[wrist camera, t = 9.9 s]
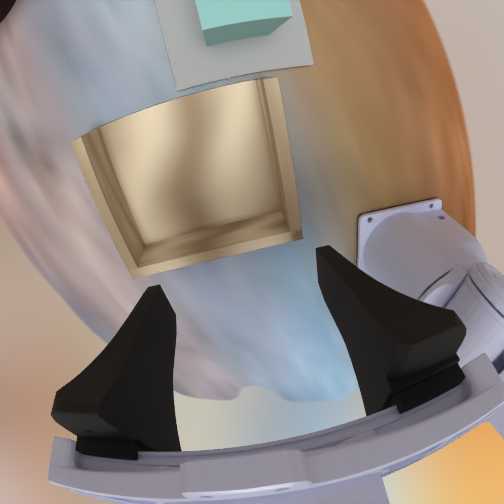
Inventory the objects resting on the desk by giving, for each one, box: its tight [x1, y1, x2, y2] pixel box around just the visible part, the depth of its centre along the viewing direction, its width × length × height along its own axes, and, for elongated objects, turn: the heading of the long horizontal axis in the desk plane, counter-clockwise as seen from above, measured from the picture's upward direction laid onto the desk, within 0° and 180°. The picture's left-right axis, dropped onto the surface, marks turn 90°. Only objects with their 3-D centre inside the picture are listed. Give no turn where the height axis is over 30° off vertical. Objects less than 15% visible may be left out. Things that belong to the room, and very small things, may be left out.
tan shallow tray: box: [71, 77, 303, 279], centre depth 18 cm, size 13×11×4 cm
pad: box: [155, 0, 314, 91], centre depth 13 cm, size 9×9×1 cm
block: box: [195, 0, 293, 46], centre depth 10 cm, size 4×4×6 cm
